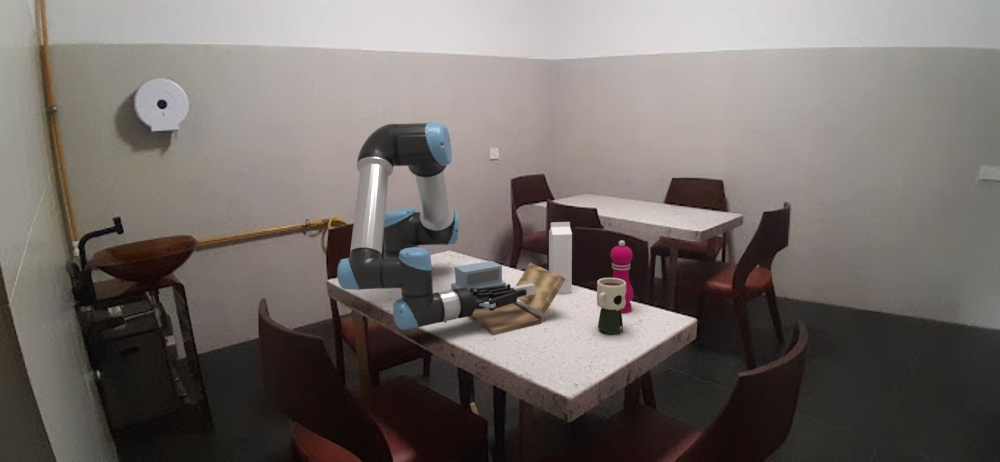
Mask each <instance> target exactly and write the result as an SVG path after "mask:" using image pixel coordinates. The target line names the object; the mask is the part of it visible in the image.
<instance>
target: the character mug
mask: <svg viewBox="0 0 1000 462" xmlns="http://www.w3.org/2000/svg"><path fill="white" fill-rule="evenodd" d="M596 283H597V285H596V288H597V289H596V304H597V307H599V308H600V312H599V317H598V322H597V323H598V324H597V328H598V329H599V330H600V331H604V332H605V333H609V334H617V333H621V331H624V324H623V323H624V322H623V313H622V312H621V309H622V308H624V307H625V304H626V301H625V294H626V282H625V281H624V280H622V279H618V278H613V277H602V278H599V279H598V280H597V282H596Z"/></svg>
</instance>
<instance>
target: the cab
mask: <svg viewBox="0 0 1000 462" xmlns="http://www.w3.org/2000/svg"><path fill="white" fill-rule="evenodd" d="M502 267H503V266H502V265H501V264H499V263H497V262H495V261H494V260H487V261H481V262H476V263H469V264H464V265H463V264H462V265H459V266H458V265H457V266H454V275H455V276H454V277H455V282H452V283H450V290H452V291H453V290H454V289H459V288H464V287H466V288H468V289H469V290H470V288H484V287H493V286H502V285H504V286H505V287H507V282H505V281H504V280H503V268H502Z"/></svg>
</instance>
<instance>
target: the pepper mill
mask: <svg viewBox="0 0 1000 462" xmlns="http://www.w3.org/2000/svg"><path fill="white" fill-rule="evenodd" d="M609 255H610V259H611V261H612V263H611V268H612V269H613V273H612V274H613V275H612V278H618V279H622V280H624V281H625V282H626V294H625V301H626V304H625V307H624V308H622V309H621V312H622V314H626V313H630V312H631V311H632V303H631V301H632V300H633V299H634V289H633V286H632V284H631V281H630V278H629V277H630V276H629V273H630V272H629V270H630V269H631V265H632V264H631V261H632V260H633V256H634V254H633V251H632V249H631V248H630V247H629V246H627V245H626V242H625V240H622V239H621V240H619V241H618V245H616V246H614V247H613V248H612V249H611V251H610V254H609Z"/></svg>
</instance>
